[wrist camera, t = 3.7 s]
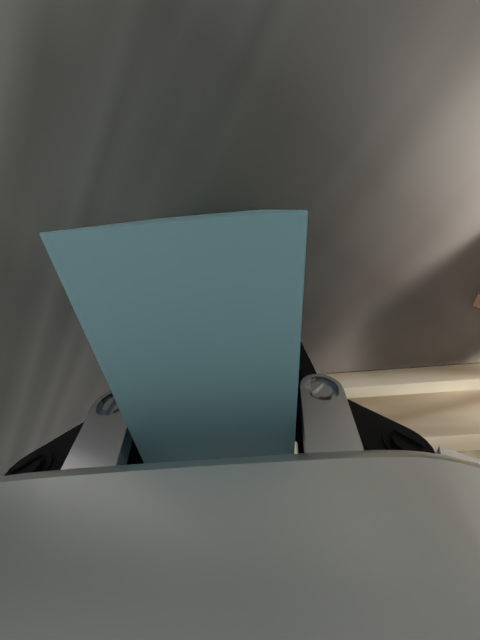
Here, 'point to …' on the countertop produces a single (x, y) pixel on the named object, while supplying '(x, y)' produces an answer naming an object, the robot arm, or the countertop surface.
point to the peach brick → (477, 301)
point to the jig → (424, 401)
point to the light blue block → (194, 326)
